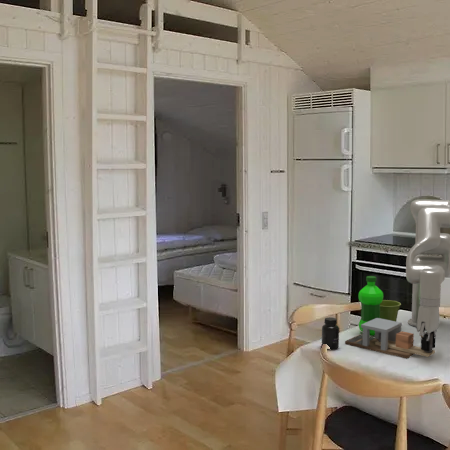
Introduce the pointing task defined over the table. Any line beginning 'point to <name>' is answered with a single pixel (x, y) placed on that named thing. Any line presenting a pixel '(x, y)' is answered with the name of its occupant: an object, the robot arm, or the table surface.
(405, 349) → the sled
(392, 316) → the plant pot
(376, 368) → the table surface
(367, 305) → the plastic bottle
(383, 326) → the tunnel
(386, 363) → the table surface
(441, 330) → the table surface
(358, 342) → the track board
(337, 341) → the supplement bottle
